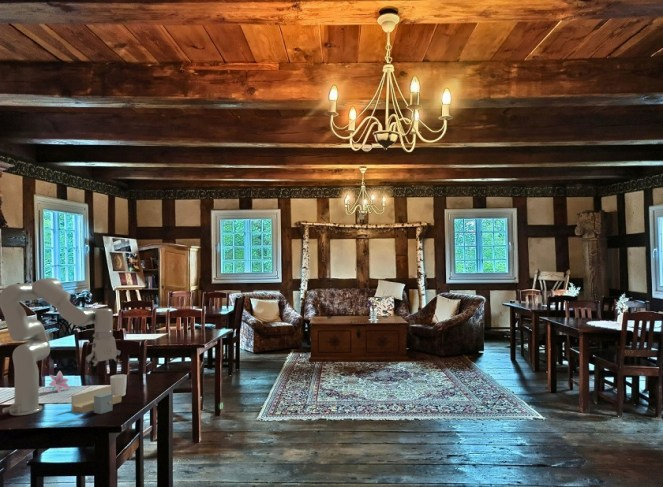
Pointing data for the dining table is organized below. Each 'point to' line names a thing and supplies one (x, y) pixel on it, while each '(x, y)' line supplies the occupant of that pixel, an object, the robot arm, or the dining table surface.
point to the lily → (59, 382)
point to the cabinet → (103, 403)
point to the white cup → (118, 384)
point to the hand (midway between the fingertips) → (103, 372)
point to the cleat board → (90, 399)
